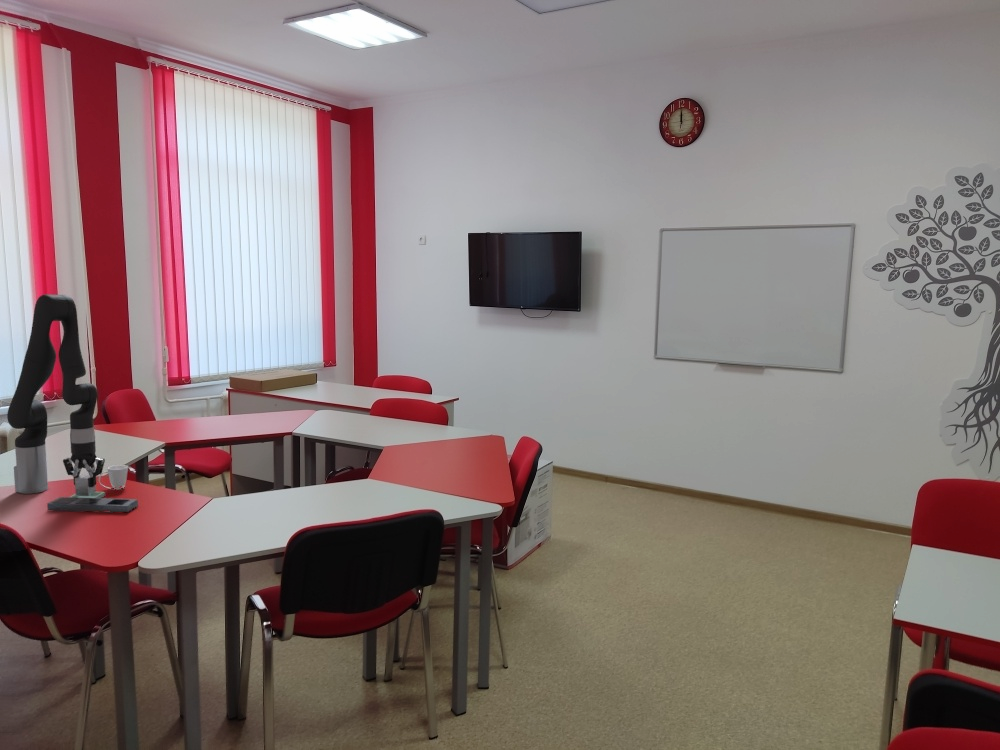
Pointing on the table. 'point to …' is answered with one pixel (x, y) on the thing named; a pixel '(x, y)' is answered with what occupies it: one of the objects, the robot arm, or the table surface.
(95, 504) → the dark grey organizer
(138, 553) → the table surface
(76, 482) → the light grey block
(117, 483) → the cup
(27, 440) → the robot arm
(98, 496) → the tray
